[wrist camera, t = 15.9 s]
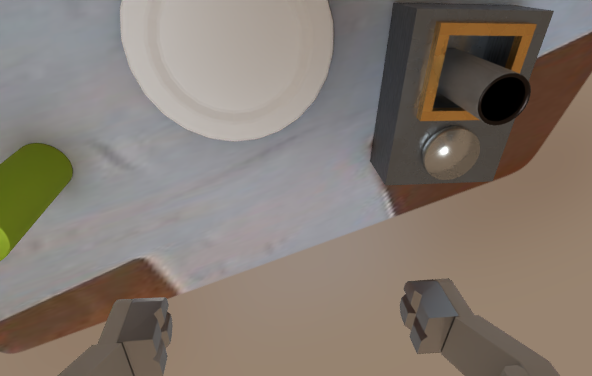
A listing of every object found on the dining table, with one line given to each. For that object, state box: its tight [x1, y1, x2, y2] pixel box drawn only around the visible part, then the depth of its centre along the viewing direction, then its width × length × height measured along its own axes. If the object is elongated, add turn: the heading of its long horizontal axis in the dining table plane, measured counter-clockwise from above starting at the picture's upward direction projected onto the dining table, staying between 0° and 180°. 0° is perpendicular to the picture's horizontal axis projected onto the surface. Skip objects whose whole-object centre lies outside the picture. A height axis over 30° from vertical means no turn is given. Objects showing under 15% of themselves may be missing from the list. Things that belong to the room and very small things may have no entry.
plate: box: [120, 0, 333, 142], centre depth 36 cm, size 21×21×2 cm
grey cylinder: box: [437, 49, 531, 126], centre depth 34 cm, size 4×4×10 cm
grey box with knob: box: [370, 3, 554, 185], centre depth 39 cm, size 18×13×7 cm
